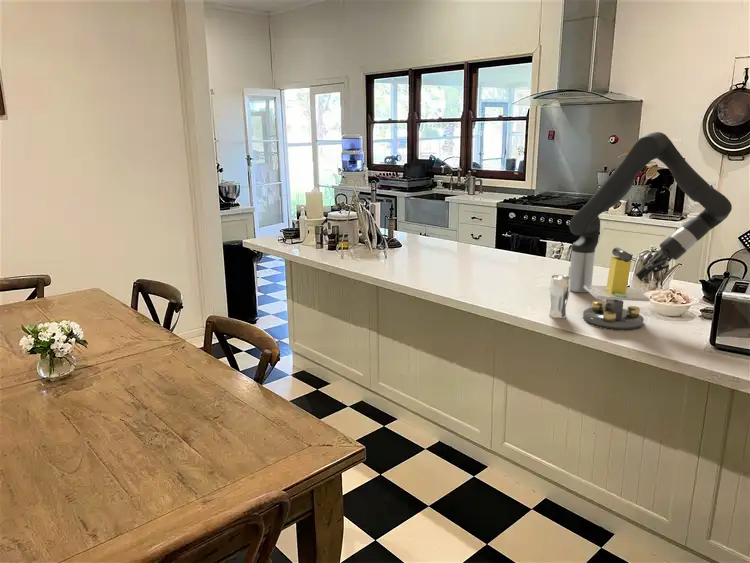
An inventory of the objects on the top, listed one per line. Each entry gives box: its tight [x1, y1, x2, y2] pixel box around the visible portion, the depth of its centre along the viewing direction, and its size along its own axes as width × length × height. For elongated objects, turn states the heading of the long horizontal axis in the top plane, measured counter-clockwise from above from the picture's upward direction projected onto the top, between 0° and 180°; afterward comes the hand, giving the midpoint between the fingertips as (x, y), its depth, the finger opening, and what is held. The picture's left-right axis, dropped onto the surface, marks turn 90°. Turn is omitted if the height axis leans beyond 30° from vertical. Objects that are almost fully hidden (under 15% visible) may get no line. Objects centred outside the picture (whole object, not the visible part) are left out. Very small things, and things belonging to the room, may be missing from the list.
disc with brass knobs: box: [582, 299, 645, 331], centre depth 197 cm, size 20×20×10 cm
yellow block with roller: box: [584, 247, 651, 302], centre depth 194 cm, size 14×18×16 cm
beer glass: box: [548, 274, 571, 320], centre depth 202 cm, size 7×7×15 cm
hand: (638, 277), depth 194 cm, fingers closed
